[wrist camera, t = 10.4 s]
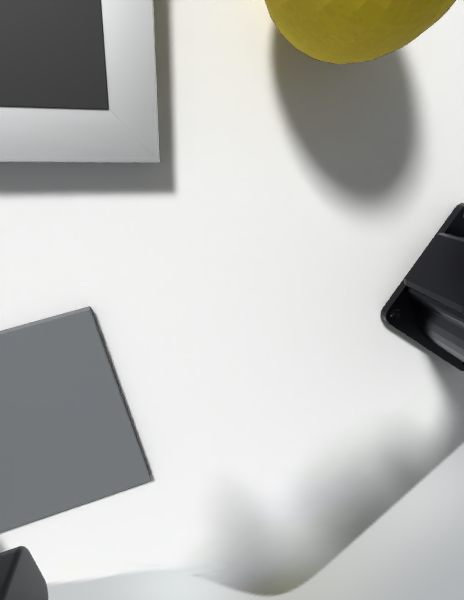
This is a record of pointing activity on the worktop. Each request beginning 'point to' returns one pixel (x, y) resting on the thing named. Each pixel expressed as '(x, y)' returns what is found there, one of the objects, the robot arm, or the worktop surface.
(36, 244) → the worktop surface
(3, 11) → the picture frame
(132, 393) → the worktop surface
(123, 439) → the mat
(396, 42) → the lemon
